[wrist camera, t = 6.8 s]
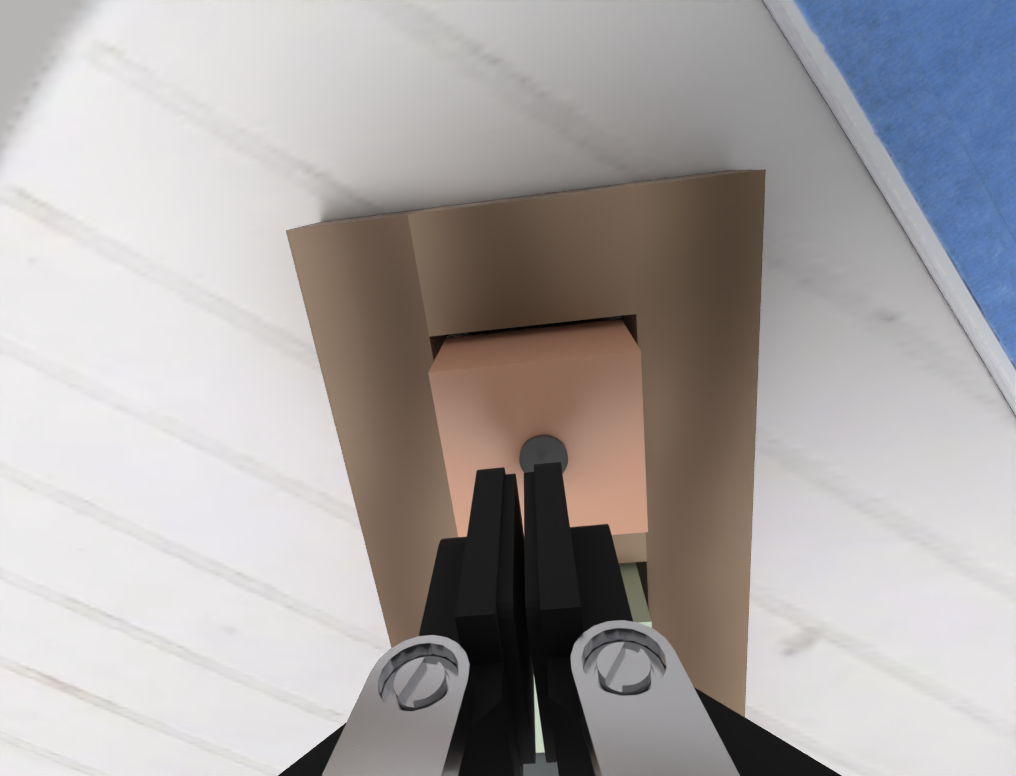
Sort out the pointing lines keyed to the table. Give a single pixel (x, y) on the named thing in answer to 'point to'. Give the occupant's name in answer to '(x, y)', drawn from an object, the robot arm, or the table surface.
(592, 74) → the table surface
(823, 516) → the table surface
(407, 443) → the button board
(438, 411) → the button one dot
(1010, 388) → the blue rectangular pad
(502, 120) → the table surface
